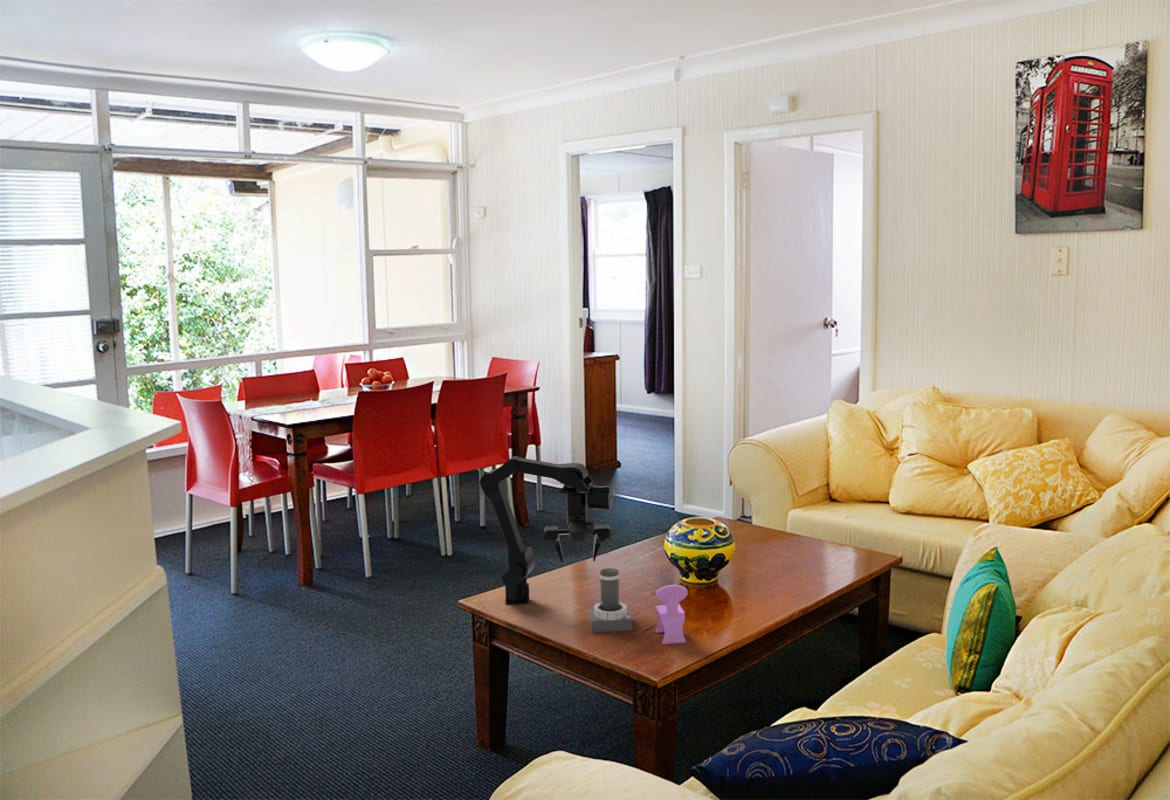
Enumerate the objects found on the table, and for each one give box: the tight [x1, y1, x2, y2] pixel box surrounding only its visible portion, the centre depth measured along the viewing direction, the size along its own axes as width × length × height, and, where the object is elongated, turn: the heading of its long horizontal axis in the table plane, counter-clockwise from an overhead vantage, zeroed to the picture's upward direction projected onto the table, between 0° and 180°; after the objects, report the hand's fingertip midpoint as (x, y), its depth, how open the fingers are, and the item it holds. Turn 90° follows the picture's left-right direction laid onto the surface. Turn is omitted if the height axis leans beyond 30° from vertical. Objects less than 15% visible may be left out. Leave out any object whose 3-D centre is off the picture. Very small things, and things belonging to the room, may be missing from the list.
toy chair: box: [654, 584, 689, 645], centre depth 249 cm, size 8×9×15 cm
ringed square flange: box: [588, 601, 634, 633], centre depth 258 cm, size 11×10×5 cm
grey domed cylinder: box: [599, 568, 620, 611], centre depth 258 cm, size 5×5×12 cm
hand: (577, 561), depth 273 cm, fingers open, 9 cm apart
